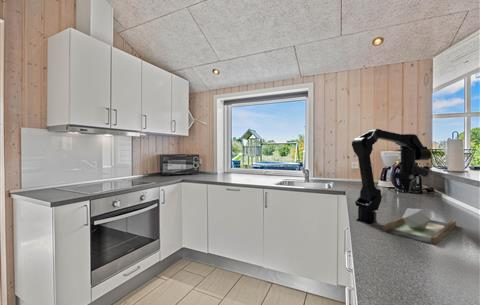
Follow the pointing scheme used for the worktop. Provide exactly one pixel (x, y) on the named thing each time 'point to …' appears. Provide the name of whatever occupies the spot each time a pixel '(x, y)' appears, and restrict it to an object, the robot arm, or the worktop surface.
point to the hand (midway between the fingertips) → (407, 192)
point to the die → (416, 218)
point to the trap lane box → (420, 230)
